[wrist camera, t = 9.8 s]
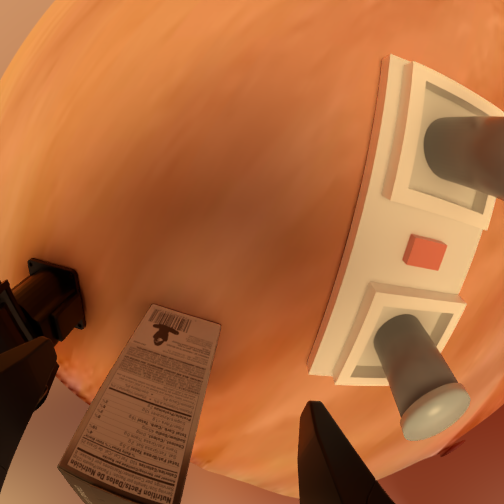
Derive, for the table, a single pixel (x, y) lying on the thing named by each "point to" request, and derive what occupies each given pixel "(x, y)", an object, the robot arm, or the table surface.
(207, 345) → the coffee box
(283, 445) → the table surface
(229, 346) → the table surface
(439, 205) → the peg insertion board
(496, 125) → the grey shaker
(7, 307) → the robot arm
